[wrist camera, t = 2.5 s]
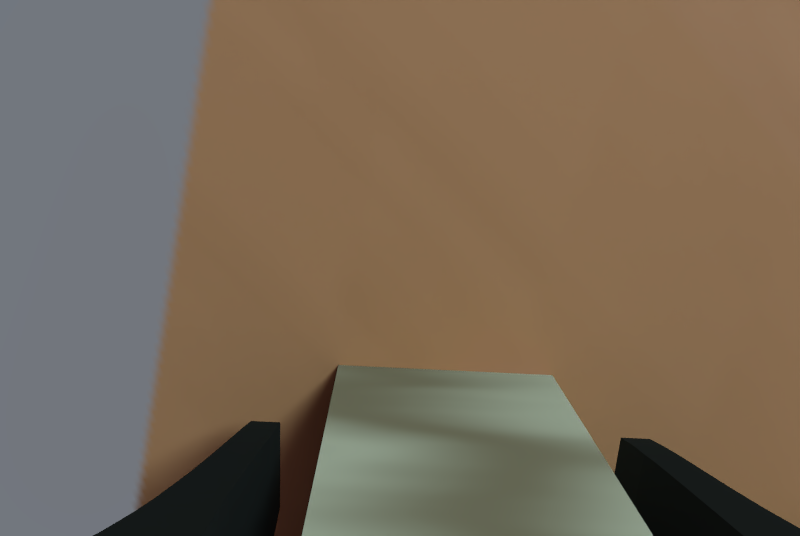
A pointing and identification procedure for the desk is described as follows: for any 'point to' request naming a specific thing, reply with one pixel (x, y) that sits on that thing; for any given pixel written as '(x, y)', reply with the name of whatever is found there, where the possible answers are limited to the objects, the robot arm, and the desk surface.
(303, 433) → the desk surface
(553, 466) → the joiner mallet
